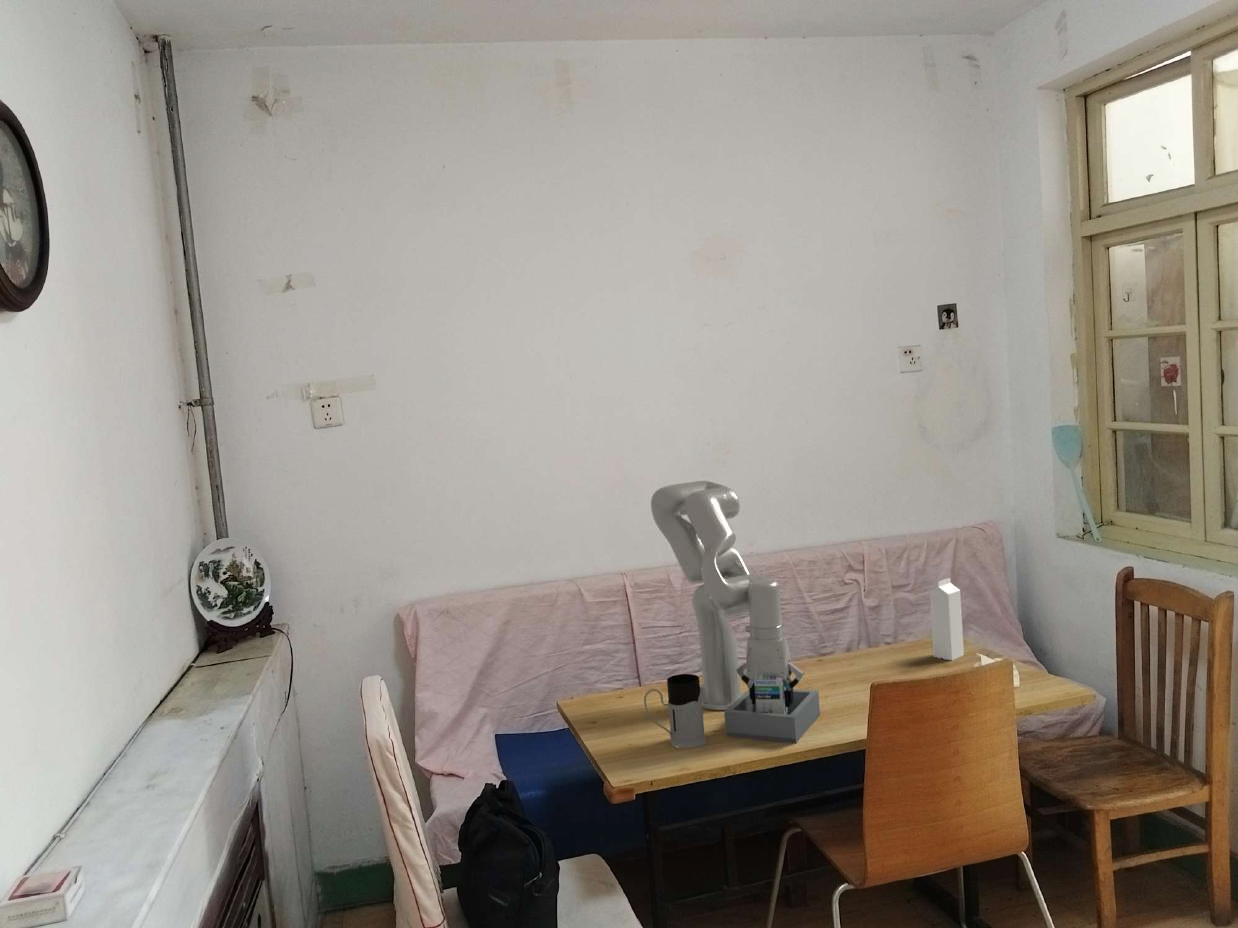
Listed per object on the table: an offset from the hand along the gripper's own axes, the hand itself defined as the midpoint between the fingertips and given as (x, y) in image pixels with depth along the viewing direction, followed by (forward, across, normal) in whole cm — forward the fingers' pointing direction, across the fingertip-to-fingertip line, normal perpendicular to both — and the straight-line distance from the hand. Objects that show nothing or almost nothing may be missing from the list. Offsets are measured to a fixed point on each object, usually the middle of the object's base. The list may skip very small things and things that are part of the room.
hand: (771, 703), depth 236 cm
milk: (+6, +30, +63) cm, 70 cm away
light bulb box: (+3, 0, 0) cm, 3 cm away
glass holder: (+6, -18, -17) cm, 25 cm away
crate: (+5, 0, 0) cm, 5 cm away
